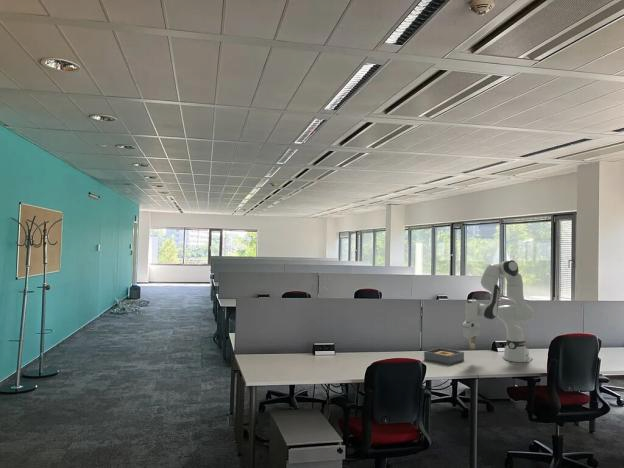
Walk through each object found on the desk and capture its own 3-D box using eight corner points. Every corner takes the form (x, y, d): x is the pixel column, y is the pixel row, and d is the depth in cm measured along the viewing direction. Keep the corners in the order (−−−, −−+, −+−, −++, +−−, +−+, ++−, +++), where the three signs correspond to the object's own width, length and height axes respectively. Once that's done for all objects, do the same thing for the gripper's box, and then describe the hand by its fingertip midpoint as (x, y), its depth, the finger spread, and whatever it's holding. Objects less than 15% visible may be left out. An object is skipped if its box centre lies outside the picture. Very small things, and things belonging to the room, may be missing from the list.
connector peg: (471, 347, 326) (470, 335, 327) (476, 348, 323) (476, 335, 324) (468, 348, 324) (468, 335, 324) (473, 349, 321) (473, 336, 321)
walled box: (439, 355, 344) (439, 347, 344) (464, 360, 330) (463, 352, 330) (424, 360, 330) (424, 351, 330) (449, 365, 316) (449, 356, 316)
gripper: (474, 320, 333) (474, 339, 333) (460, 324, 319) (461, 344, 319) (483, 321, 329) (483, 341, 329) (469, 325, 315) (469, 345, 314)
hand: (472, 342), depth 324 cm, fingers closed on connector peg, 4 cm apart
